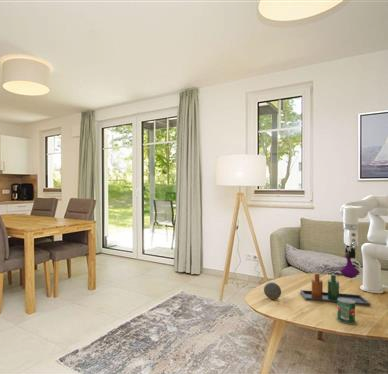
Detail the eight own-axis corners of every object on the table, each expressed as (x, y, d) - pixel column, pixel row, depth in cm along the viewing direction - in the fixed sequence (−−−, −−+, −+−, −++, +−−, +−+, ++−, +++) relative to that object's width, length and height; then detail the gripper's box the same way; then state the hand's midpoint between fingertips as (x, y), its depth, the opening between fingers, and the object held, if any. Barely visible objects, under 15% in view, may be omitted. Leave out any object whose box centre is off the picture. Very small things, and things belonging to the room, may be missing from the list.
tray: (360, 298, 189) (360, 295, 189) (369, 307, 176) (370, 303, 176) (300, 293, 199) (300, 290, 199) (305, 301, 186) (305, 297, 186)
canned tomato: (334, 316, 165) (335, 296, 164) (351, 318, 162) (351, 298, 162) (340, 323, 157) (340, 302, 157) (357, 325, 155) (357, 303, 154)
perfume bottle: (352, 279, 180) (352, 249, 180) (339, 276, 187) (339, 247, 187) (359, 277, 184) (359, 248, 183) (346, 274, 190) (346, 245, 190)
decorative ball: (265, 294, 197) (265, 279, 197) (281, 297, 192) (282, 281, 192) (262, 299, 188) (262, 283, 188) (280, 303, 183) (280, 286, 183)
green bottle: (337, 297, 190) (337, 273, 189) (340, 301, 184) (340, 276, 184) (326, 296, 191) (326, 273, 191) (329, 300, 186) (329, 275, 185)
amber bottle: (320, 296, 192) (321, 272, 192) (323, 299, 186) (323, 275, 186) (310, 295, 194) (310, 271, 194) (312, 298, 188) (313, 274, 188)
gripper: (363, 229, 175) (363, 260, 175) (352, 225, 191) (351, 253, 191) (348, 228, 177) (348, 259, 177) (338, 224, 193) (338, 253, 194)
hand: (350, 256), depth 184 cm, fingers closed on perfume bottle, 4 cm apart
